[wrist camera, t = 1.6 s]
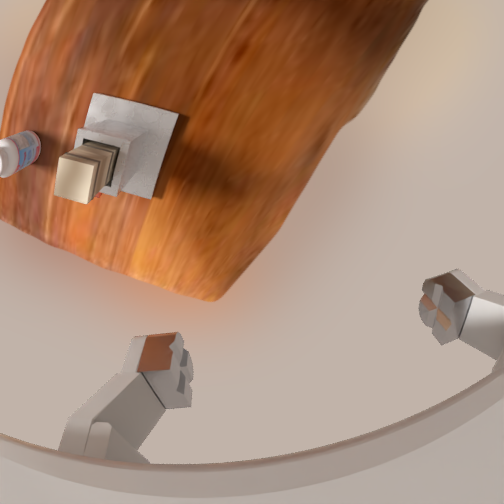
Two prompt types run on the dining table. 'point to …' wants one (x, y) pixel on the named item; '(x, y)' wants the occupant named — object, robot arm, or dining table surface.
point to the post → (85, 171)
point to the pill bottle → (18, 152)
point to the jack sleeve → (129, 141)
